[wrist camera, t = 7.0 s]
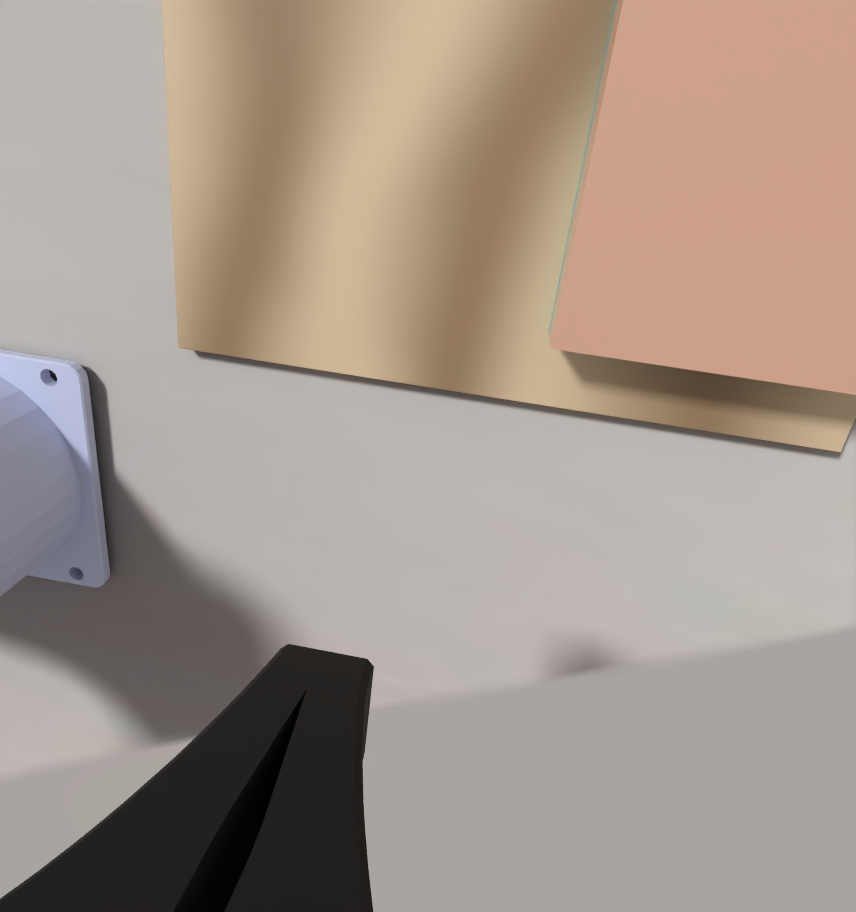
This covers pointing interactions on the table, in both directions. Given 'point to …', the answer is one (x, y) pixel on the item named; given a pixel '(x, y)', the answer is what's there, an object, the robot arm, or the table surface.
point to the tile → (719, 194)
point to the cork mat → (412, 204)
